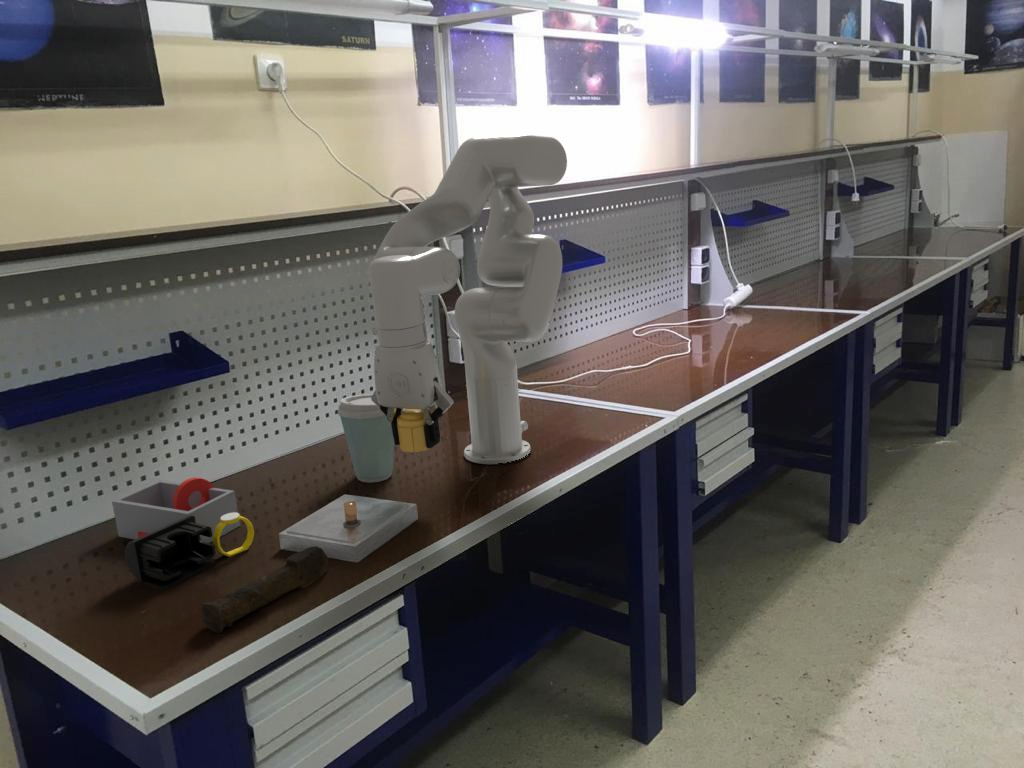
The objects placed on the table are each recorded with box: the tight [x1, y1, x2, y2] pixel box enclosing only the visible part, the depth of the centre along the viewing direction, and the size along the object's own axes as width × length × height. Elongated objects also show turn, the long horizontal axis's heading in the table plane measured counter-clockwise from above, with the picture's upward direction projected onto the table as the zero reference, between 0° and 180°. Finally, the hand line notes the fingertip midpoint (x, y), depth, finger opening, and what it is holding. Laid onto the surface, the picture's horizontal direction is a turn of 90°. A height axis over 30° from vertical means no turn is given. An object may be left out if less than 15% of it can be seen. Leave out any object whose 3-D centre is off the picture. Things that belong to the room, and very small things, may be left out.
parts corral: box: [111, 479, 241, 544], centre depth 138 cm, size 10×17×6 cm, turn 63°
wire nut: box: [397, 409, 431, 453], centre depth 140 cm, size 5×5×6 cm
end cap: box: [124, 516, 216, 591], centre depth 123 cm, size 10×7×7 cm
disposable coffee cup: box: [337, 393, 395, 484], centre depth 155 cm, size 11×11×15 cm
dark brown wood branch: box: [200, 546, 330, 634], centre depth 113 cm, size 19×4×5 cm, turn 140°
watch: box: [212, 512, 255, 558], centre depth 128 cm, size 6×3×6 cm, turn 137°
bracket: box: [138, 476, 215, 538], centre depth 137 cm, size 12×4×8 cm, turn 138°
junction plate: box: [278, 494, 419, 564], centre depth 132 cm, size 16×14×6 cm
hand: (417, 442), depth 141 cm, fingers closed on wire nut, 5 cm apart
